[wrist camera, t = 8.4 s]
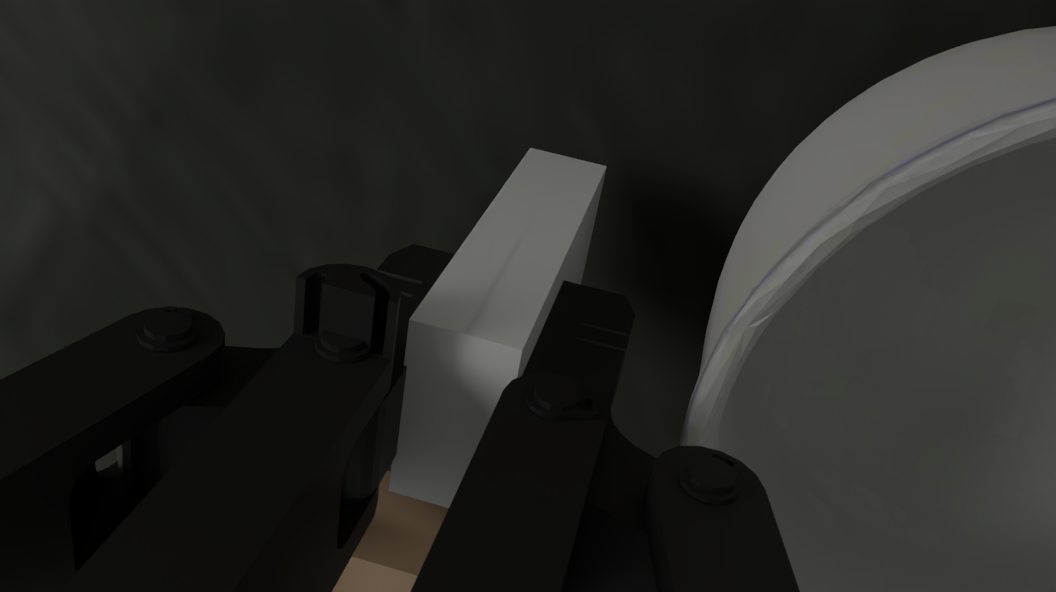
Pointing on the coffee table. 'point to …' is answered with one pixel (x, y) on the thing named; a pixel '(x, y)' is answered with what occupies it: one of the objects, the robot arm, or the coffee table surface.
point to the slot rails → (392, 544)
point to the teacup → (903, 332)
